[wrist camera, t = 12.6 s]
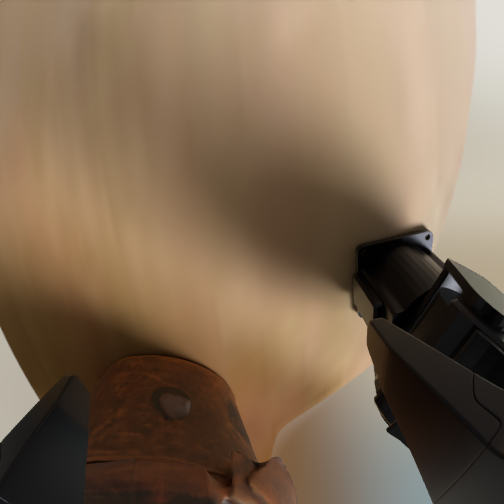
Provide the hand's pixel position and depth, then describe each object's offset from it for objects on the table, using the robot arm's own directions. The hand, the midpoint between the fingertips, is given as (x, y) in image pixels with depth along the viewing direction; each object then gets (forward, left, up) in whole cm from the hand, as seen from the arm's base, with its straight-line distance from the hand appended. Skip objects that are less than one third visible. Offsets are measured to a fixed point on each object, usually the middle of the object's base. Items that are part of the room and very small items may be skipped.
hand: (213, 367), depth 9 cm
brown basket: (+9, +17, -13) cm, 23 cm away
